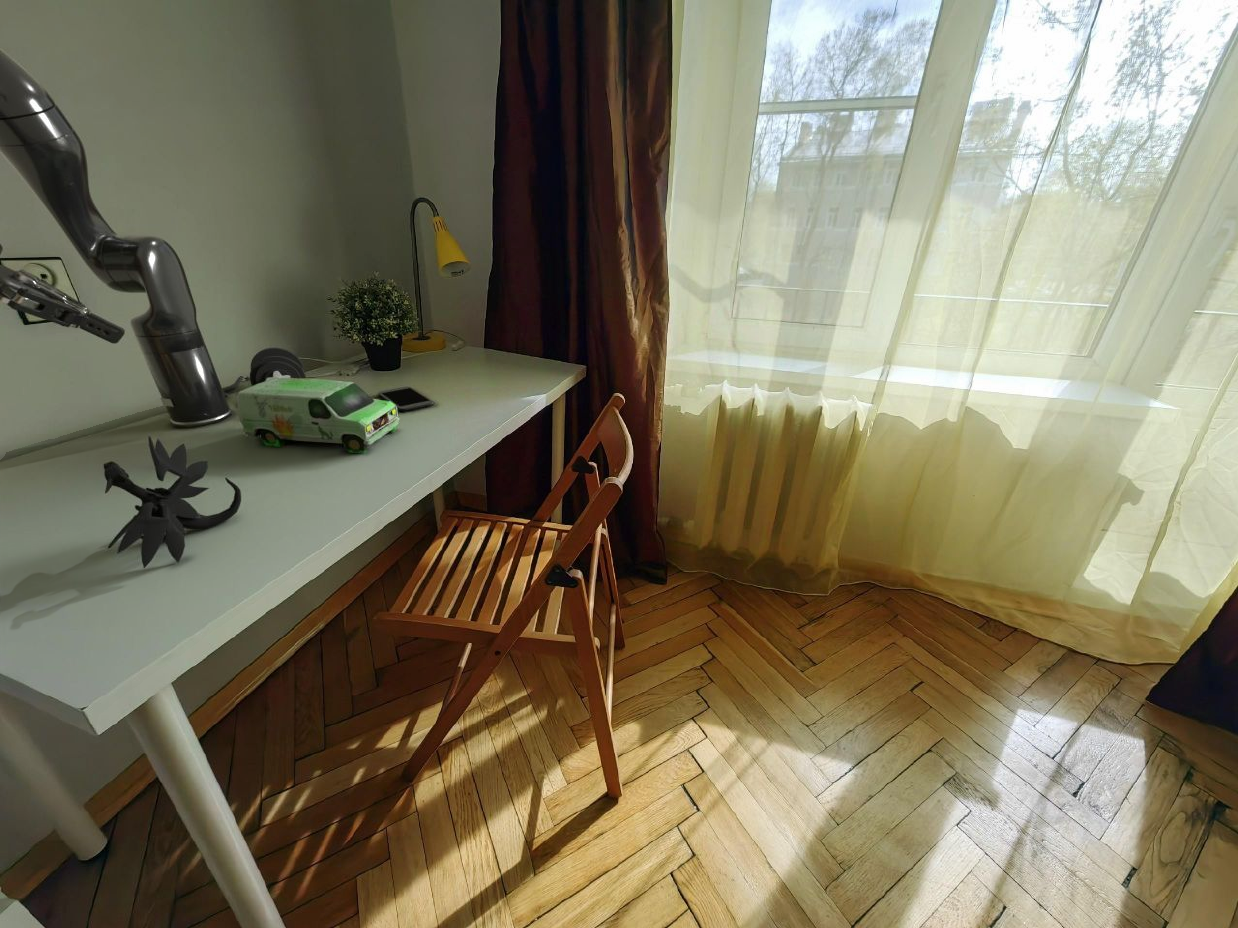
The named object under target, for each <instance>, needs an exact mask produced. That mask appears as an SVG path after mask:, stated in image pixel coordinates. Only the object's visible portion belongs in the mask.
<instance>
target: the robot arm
mask: <svg viewBox="0 0 1238 928" xmlns="http://www.w3.org/2000/svg"><path fill="white" fill-rule="evenodd" d="M0 154H1V155H2V156H3V158H4V159H5V160H6V161H7V163H8V164H9V165H10V166H11V167H12V168H13V169H14V170H15V172H16V173H17V174H18V175H19V176H20V178H21V179H22V180H23V181H24V183H25V184H26V185H27V187H28V188H29V189H30V190H31V192H32V194H34V195H35V196H36V198H37V199H38V200H39V201H40V203H41V204H42V205H43V206H44V208H45V209H46V210H47V211H48V213H49V214H50V215H51V217H52V218H53V219H54V221H55V222H56V224H57V225H58V227H59V228H60V229H61V231H62V232H63V234H64V236H65V237H66V239H68V241H69V242H70V244H71V245H72V247H73V248H74V249H75V251H76V253H77V254H78V256H79V257H80V258H81V260H82V261H83V263H84V265H86V267H87V268H88V269H89V270H90V271H91V273H92V274H93V275H94V276H95V277H96V278H97V279H98V281H100V282H101V283H102V284H104V285H105V286H106V287H108V288H110V289H111V290H113V291H116V292H120V293H128V294H146V297H147V301H148V307H147V309H146V310H145V311H143V312H141V313H138V314H136V315H133V316H132V317H130V318H129V320H128V323H129V327H130V329H131V331H132V333H133V335H134V337H135V341H136V343H137V344H138V347H139V349H140V351H141V354H142V356H143V358H144V360H145V362H146V365H147V367H148V369H149V372H150V374H151V376H152V379H153V381H154V383H155V386H156V388H157V390H158V393H159V395H160V400H161V403H162V405H163V406H165V409H166V410H167V413H168V416H169V418H170V422H171V425H172V426H174V427H178V428H194V427H201V426H202V427H203V426H207V425H211V424H215V423H218V422H222V421H223V420H226V419H228V418H229V417H231V416H232V410H231V407H230V406H229V403H228V401H227V398H228V397H229V394H228V393H227V392H230V391H233V390H235V389H236V388H238V387H239V385H240V384H241V383H242V382H243V381H244V380H245V381H250V376H249V375H246V376H247V377H246V378H244V377H243V376H240V375H239V376H240V377H239V376H238V378H237V379H236V381H235V382H234V383H233V384H231V385H229V386H227V387H223V388H222V385H221V382H220V379H219V377H218V373H217V371H216V369H215V366H214V364H213V360H212V358H211V355H210V353H209V350H208V348H207V347H208V346H207V345H206V343H205V342H206V341H205V339H204V337H203V335H202V331H201V329H200V326H199V323H198V320H197V307H196V304H195V301H194V297H193V295H192V291H191V288H190V285H189V282H188V277H187V274H186V270H185V269H184V266H183V263H182V261H181V258H180V257H179V255H178V253H177V252H176V250H175V249H174V248H173V246H172V245H171V244H170V243H168V241H166V240H164V239H163V238H161V237H159V236H155V235H148V234H147V235H145V234H144V235H142V234H141V235H138V234H118V233H117V232H115V231H114V230H113V228H112V227H111V226H110V225H109V223H107V221H106V220H105V219H104V217H103V216H102V214H101V212H100V211H99V210H98V208H97V207H96V204H95V202H94V200H93V198H92V195H91V191H90V185H89V167H88V159H87V153H86V149H85V147H84V144H83V141H82V140H81V137H80V136H79V135H78V133H77V132H76V130H75V129H74V128H73V126H72V125H71V123H70V121H69V120H68V119H67V117H66V115H65V114H64V113H63V112H62V110H61V109H60V108H59V106H58V105H57V103H56V102H55V100H54V98H52V97H51V95H50V94H49V93H48V91H47V90H46V89H45V88H44V86H43V85H42V84H41V83H40V82H39V81H38V80H37V79H36V78H35V77H34V76H33V75H32V74H31V73H29V72H28V70H26V69H25V68H24V67H23V66H22V65H21V64H20V63H19V62H18V61H16V59H14V58H13V57H12V56H11V55H10V54H8V53H7V52H6V51H5V50H4V49H2V48H1V47H0ZM3 248H4V247H3V245H2V244H1V243H0V256H1V255H2V253H3V250H4V249H3ZM0 302H2V303H4V304H6V305H7V306H8V307H10V309H12V310H14V311H19V312H22V313H24V314H26V315H27V314H28V315H30V316H33V317H37V318H38V319H42V320H45V321H48V322H51V323H53V324H58V325H60V326H62V327H64V328H65V327H66V328H74V329H78V328H79V329H80V330H83V331H85V332H86V333H89V334H91V335H93V336H96V337H97V338H100V339H102V340H103V341H106V342H109V343H111V344H118V343H119V342H120V341H121V339H122V338H123V337H124V336H125V332H126V330H125V329H124V327H121V326H119V325H117V324H116V323H113V322H111V321H109V320H107V319H105V318H103V317H101V316H99V315H97V314H96V313H93V312H91V310H90V309H88V307H86V305H85V304H83V302H81V301H79V300H77V299H75V298H74V297H73V296H70V295H69V294H67V293H65V292H64V291H62V290H61V289H59V288H58V287H55V286H54V285H52V284H51V283H49V282H48V281H47V280H45V279H43V278H39V277H38V276H36V275H35V274H33V273H30V272H29V271H26V270H24V269H22V268H19V269H18V270H14V269H13V268H10V267H8V266H5V265H2V264H0ZM243 378H244V379H243Z"/></svg>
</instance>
